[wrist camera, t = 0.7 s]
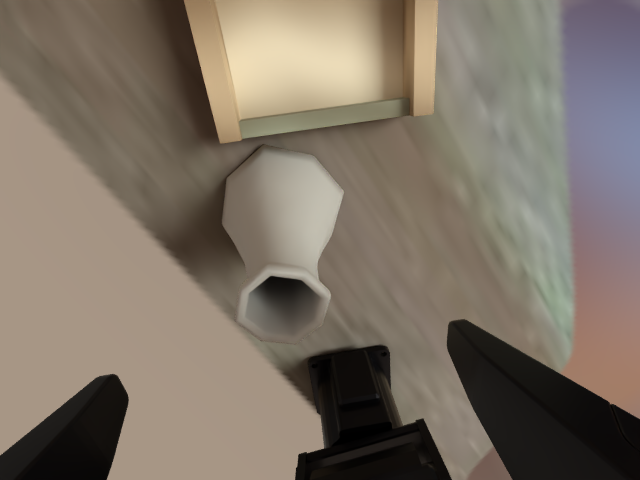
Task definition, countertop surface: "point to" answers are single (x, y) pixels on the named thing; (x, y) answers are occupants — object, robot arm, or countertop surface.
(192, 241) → the countertop surface
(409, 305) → the countertop surface
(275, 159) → the flask
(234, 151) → the countertop surface
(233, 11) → the tray
